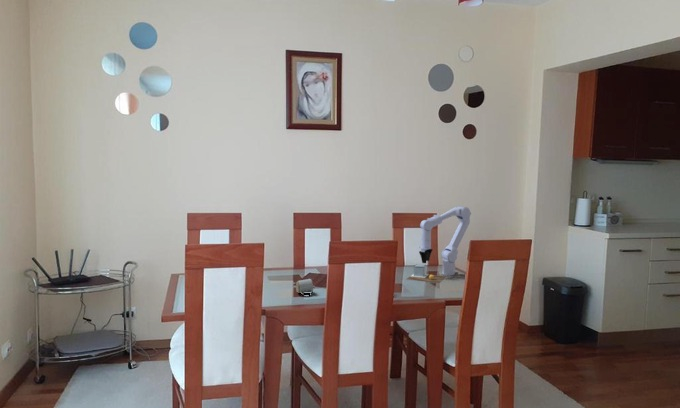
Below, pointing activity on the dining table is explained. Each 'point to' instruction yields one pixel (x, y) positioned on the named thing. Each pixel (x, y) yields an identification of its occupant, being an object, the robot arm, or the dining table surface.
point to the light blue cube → (419, 270)
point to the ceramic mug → (304, 286)
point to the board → (428, 279)
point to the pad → (419, 276)
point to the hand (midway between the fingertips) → (425, 261)
